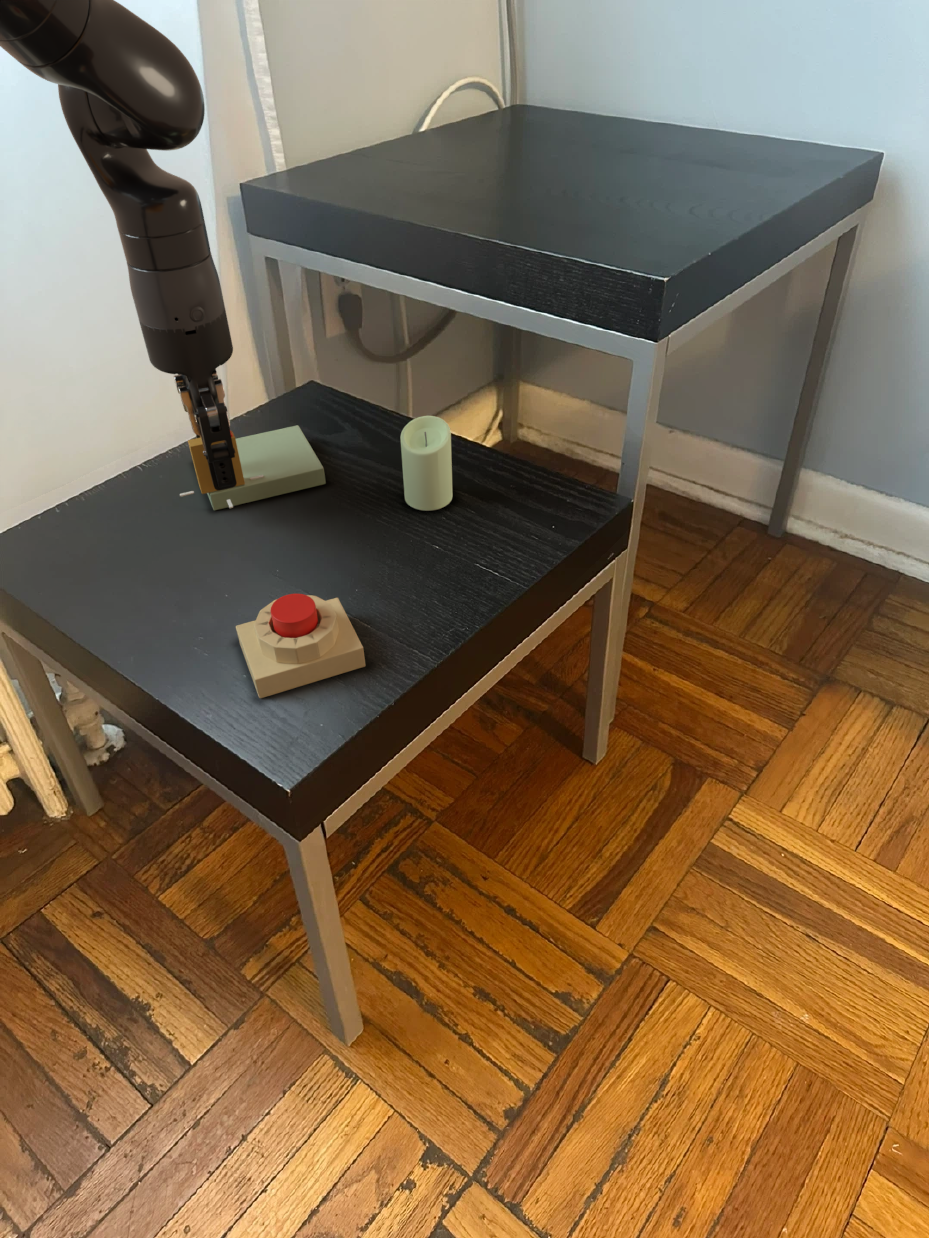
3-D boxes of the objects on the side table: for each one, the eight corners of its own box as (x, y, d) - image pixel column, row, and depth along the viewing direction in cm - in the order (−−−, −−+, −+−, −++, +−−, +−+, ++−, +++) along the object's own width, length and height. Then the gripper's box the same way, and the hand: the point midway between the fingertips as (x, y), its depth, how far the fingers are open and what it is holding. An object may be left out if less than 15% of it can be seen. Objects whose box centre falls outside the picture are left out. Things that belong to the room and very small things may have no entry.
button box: (259, 699, 71) (250, 663, 68) (240, 644, 75) (231, 609, 73) (365, 666, 73) (361, 631, 71) (340, 615, 78) (335, 580, 75)
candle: (444, 514, 89) (442, 444, 84) (398, 507, 90) (392, 437, 85) (458, 488, 93) (456, 418, 88) (413, 481, 94) (409, 412, 89)
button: (280, 643, 70) (276, 627, 69) (269, 616, 73) (265, 600, 72) (323, 631, 71) (320, 614, 70) (311, 604, 74) (308, 588, 73)
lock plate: (192, 535, 87) (187, 517, 86) (169, 469, 97) (165, 452, 95) (335, 500, 92) (332, 482, 90) (300, 440, 101) (298, 423, 99)
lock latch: (202, 494, 89) (189, 444, 85) (199, 487, 90) (187, 438, 86) (245, 484, 90) (234, 435, 87) (242, 477, 91) (231, 428, 88)
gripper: (126, 287, 82) (169, 446, 93) (150, 348, 72) (195, 517, 83) (207, 274, 84) (240, 430, 95) (241, 331, 74) (273, 499, 85)
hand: (218, 470), depth 89 cm, fingers open, 5 cm apart
